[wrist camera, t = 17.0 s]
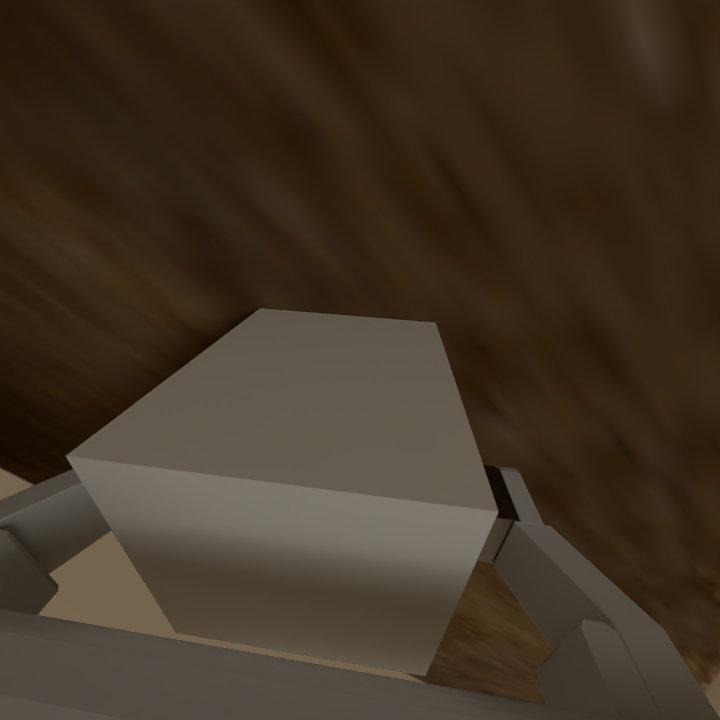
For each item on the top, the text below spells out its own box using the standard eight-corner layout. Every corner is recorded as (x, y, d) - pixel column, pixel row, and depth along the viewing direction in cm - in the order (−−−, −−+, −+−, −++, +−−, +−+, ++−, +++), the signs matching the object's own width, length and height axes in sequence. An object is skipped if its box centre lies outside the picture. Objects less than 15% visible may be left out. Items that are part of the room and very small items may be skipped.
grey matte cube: (260, 308, 12) (65, 456, 5) (435, 322, 11) (498, 511, 4) (276, 437, 15) (175, 632, 8) (411, 453, 14) (425, 675, 8)
